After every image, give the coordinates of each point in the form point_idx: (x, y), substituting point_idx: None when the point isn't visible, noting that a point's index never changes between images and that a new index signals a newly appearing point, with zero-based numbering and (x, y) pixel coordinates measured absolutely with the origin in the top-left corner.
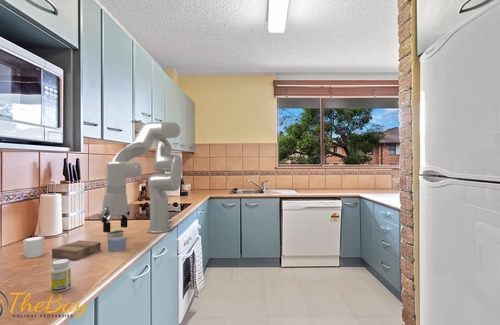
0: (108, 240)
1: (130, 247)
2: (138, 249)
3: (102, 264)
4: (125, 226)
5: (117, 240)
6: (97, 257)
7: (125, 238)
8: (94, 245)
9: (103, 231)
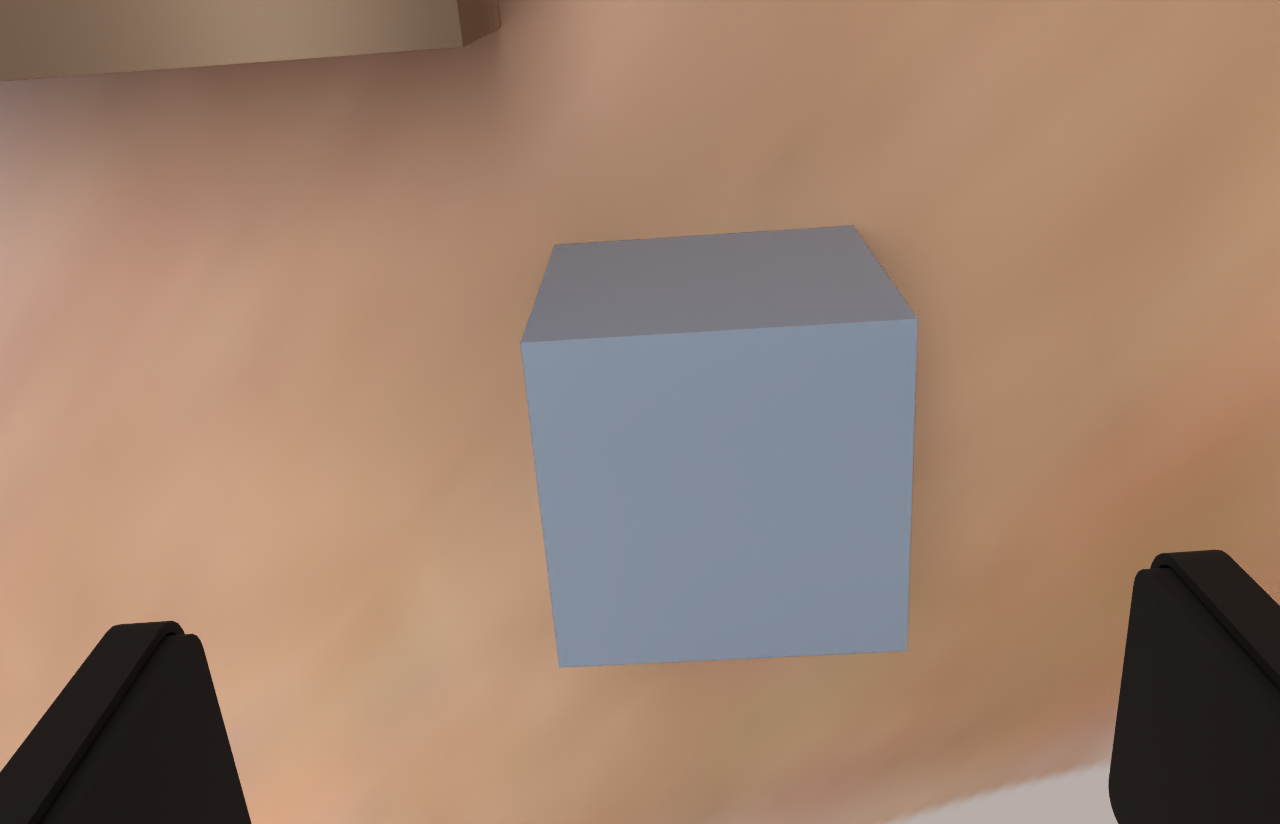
0: (527, 357)
1: (952, 519)
2: (875, 750)
3: (6, 739)
4: (1127, 809)
5: (580, 652)
6: (166, 369)
7: (880, 638)
8: (234, 60)
9: (114, 646)
